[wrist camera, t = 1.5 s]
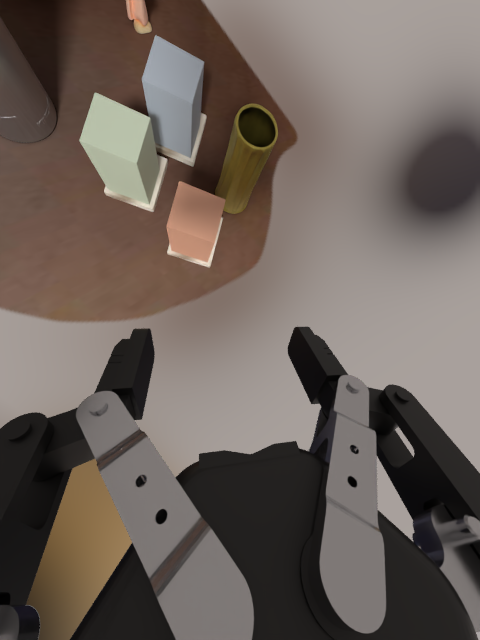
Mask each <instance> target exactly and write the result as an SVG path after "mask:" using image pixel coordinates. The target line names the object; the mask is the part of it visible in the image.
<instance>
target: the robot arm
mask: <svg viewBox="0 0 480 640" xmlns="http://www.w3.org/2000/svg"><path fill="white" fill-rule="evenodd" d="M56 120H57V116H56V110H55V107H54V105H53V103H52V101H51V99H50V98H49V96H48V94H47V93H46V91H45V89H44V88H43V86H42V85H41V83H40V81H39V80H38V78H37V76H36V75H35V73H34V71H33V70H32V68H31V66H30V65H29V63H28V61H27V60H26V58H25V56H24V55H23V53H22V52H21V50H20V48H19V47H18V45H17V43H16V42H15V40H14V38H13V37H12V35H11V33H10V32H9V30H8V29H7V27H6V25H5V24H4V22H3V20H2V19H1V17H0V135H1V136H2V137H4V138H7V139H9V140H12V141H16V142H22V143H31V142H37V141H40V140H42V139H44V138H46V137H47V136H49V135H50V133H51V132H52V131H53V129H54V127H55V125H56ZM288 355H289V357H290V359H291V361H292V364H293V365H294V368H295V370H296V372H297V374H298V376H299V378H300V381H301V383H302V385H303V387H304V389H305V391H306V393H307V396H308V398H309V400H310V402H311V404H319V403H320V405H321V409H320V411H319V416H318V420H317V424H316V429H315V433H314V437H313V441H312V444H311V447H310V449H309V451H306V450H302V449H299V448H298V445H297V442H296V441H293V442H286V443H278V444H273V445H271V446H269V447H267V448H264V449H262V450H260V451H258V452H256V453H254V454H244V453H238V452H231V451H217V452H209V453H202V454H199V461H198V462H196V463H194V464H192V465H190V466H189V467H187V468H186V469H184V470H183V471H182V472H181V473H180V474H179V475H178V476H177V477H176V478H175V477H174V475H173V474H172V472H171V471H170V469H169V468H168V466H167V465H166V463H165V462H164V460H163V459H162V457H161V456H160V454H159V453H158V451H157V450H156V448H155V447H154V445H153V444H152V442H151V441H150V439H149V438H148V436H147V435H146V434H145V432H142V431H141V430H140V428H139V427H138V426H137V424H136V422H135V421H134V420H141V419H142V416H143V411H144V407H145V402H146V397H147V392H148V387H149V383H150V378H151V373H152V368H153V363H154V346H153V341H152V335H151V330H150V329H134V330H133V332H132V334H131V337H130V339H122V340H121V341H120V342H119V343H118V344H117V345H116V346H115V347H114V349H113V351H112V354H111V357H110V359H109V361H108V364H107V366H106V368H105V370H104V373H103V375H102V377H101V379H100V382H99V384H98V386H97V389H96V391H95V393H94V394H92V395H91V396H89V397H87V398H86V399H85V400H84V401H83V402H82V403H81V404H80V405H79V407H78V408H76V409H73V410H71V411H68V412H65V413H62V414H59V415H56V416H53V417H50V418H46V417H45V415H43V414H41V413H28V414H24V415H22V416H19V417H17V418H15V419H13V420H11V421H10V422H8V423H7V424H5V425H4V426H3V427H2V428H1V429H0V640H38V637H39V632H40V618H39V614H38V612H37V611H36V609H35V608H33V607H32V606H29V605H26V603H27V599H28V597H29V594H30V591H31V588H32V585H33V582H34V579H35V576H36V573H37V570H38V567H39V564H40V561H41V558H42V555H43V553H44V550H45V546H46V544H47V541H48V538H49V535H50V532H51V529H52V526H53V523H54V520H55V517H56V515H57V512H58V509H59V506H60V503H61V500H62V497H63V494H64V491H65V488H66V485H67V482H68V479H69V477H70V473H71V470H72V468H74V467H76V466H78V465H81V464H83V463H85V462H88V461H89V460H92V459H96V461H97V466H98V469H99V471H100V474H101V476H102V478H103V480H104V482H105V484H106V487H107V488H108V491H109V493H110V495H111V497H112V500H113V502H114V504H115V506H116V508H117V510H118V512H119V515H120V517H121V519H122V521H123V523H124V525H125V527H126V530H127V532H128V534H129V536H130V538H131V540H132V544H131V545H130V547H129V549H128V550H127V552H126V553H125V555H124V556H123V558H122V559H121V561H120V562H119V564H118V566H117V567H116V569H115V570H114V572H113V573H112V575H111V576H110V578H109V580H108V581H107V583H106V584H105V586H104V587H103V589H102V590H101V592H100V593H99V595H98V597H97V598H96V600H95V601H94V603H93V605H92V606H91V608H90V609H89V611H88V612H87V614H86V615H85V617H84V618H83V620H82V622H81V623H80V625H79V626H78V628H77V629H76V631H75V632H74V634H73V635H72V637H71V639H70V640H478V638H477V634H476V632H479V631H480V473H479V472H478V471H477V470H476V468H475V467H474V466H473V465H472V464H471V463H470V461H469V460H468V459H467V458H466V457H465V456H464V454H463V453H462V452H461V451H460V450H459V449H458V447H457V446H456V445H455V444H454V443H453V442H452V441H451V439H450V438H449V437H448V436H447V435H446V434H445V432H444V431H443V430H442V429H441V427H440V426H439V425H438V424H437V423H436V422H435V421H434V419H433V418H432V417H431V416H430V415H429V414H428V412H427V411H426V410H425V409H424V408H423V406H422V405H421V404H420V403H419V402H418V401H417V399H416V398H415V397H414V396H413V395H412V394H411V393H410V392H409V391H407V390H406V389H404V388H402V387H400V386H397V385H388V386H386V388H385V389H384V390H383V391H382V390H378V389H373V388H368V387H367V386H366V385H365V384H364V383H363V382H362V381H361V380H360V379H358V378H356V377H354V376H351V375H348V374H347V373H346V371H345V370H344V368H343V367H342V365H341V364H340V363H339V361H338V360H337V358H336V357H335V355H333V353H332V351H331V350H330V349H329V347H328V345H327V344H326V343H325V341H324V340H323V339H321V338H320V337H319V336H317V335H314V333H313V332H312V330H311V329H310V328H309V327H295V328H294V330H293V333H292V336H291V339H290V342H289V345H288ZM398 426H399V428H400V429H401V431H402V432H403V434H404V435H405V436H406V438H407V439H408V441H409V442H410V444H411V445H412V447H413V449H414V453H415V455H414V457H413V456H412V455H411V453H410V452H409V450H408V449H407V447H406V446H405V444H404V443H403V441H402V440H401V438H400V437H399V435H398V434H397V433H396V431H395V429H396V428H397V427H398ZM376 455H377V456H378V458H379V460H380V462H381V463H382V465H383V467H384V469H385V471H386V472H387V474H388V476H389V478H390V480H391V481H392V483H393V485H394V487H395V489H396V490H397V492H398V494H399V496H400V498H401V499H402V501H403V503H404V505H405V506H406V508H407V510H408V512H409V514H410V515H411V517H412V519H413V528H414V533H413V536H412V538H413V541H411V540H410V539H409V538H408V537H407V536H406V535H405V534H404V533H403V532H402V531H400V530H399V529H398V528H397V527H396V526H395V525H394V524H393V523H392V522H390V521H389V520H388V519H387V518H386V517H385V516H384V515H383V514H382V513H381V512H379V511H378V510H377V456H376Z"/></svg>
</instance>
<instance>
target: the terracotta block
mask: <svg viewBox="0 0 480 640" xmlns="http://www.w3.org/2000/svg"><path fill="white" fill-rule="evenodd" d="M225 201H226V200H225V199H223V198H220V197H218V196H215V195H213V194H210V193H208V192H205V191H203V190H200V189H198V188H196V187H193V186H191V185H188V184H186V183H183V182H181V181H179V184H178V188H177V191H176V195H175V198H174V202H173V205H172V209H171V212H170V216H169V220H168V223H167V232H168V236H169V241H170V246H171V251H174V252H177V253H180V254H183V255H186V256H189V257H192V258H195V259H198V260H201V261H205V262H208V260H209V257H210V254H211V251H212V249H213V246H214V243H215V239H216V235H217V232H218V228H219V224H220V220H221V216H222V213H223V209H224V205H225Z"/></svg>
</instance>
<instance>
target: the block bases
mask: <svg viewBox="0 0 480 640" xmlns="http://www.w3.org/2000/svg"><path fill="white" fill-rule="evenodd" d="M206 118H207V115H205V114H203V113H201V116H200V127H199V130H198V134H197V137H196V141H195V145H194V148H193V152H192V155H191V158H189V157H187V156H185V155H182V154H180V153H178V152H175V151H173V150H171V149H169V148H166V147H164V146H162V145H159V144H157V143H155V147H156V151H157V152H159V153H162V154H164V155H166V156H169V157H171V158H174V159H176V160H178V161H181V162H183V163H185V164H188V165H190V166H192V167H194V163H195V160H196V156H197V152H198V149H199V145H200V142H201V138H202V134H203V131H204V127H205V124H206ZM157 158H158V164H159V174H158V177H157V181H156V184H155V188H154V191H153V195H152V198H151V201H150V205H149V204H146V203H143V202H140V201H138V200H135V199H132V198H129V197H127V196H124V195H121V194H118V193H116V192H113V191H110V190H108V188H107V187H105V190H104V192H105V194H106V195H107V196H109V197H112V198H115V199H118V200H121V201H123V202H126V203H129V204H132V205H135V206H137V207H140V208H143V209H146V210H149V211H151V212H154V210H155V207H156V203H157V200H158V196H159V193H160V189H161V186H162V182H163V179H164V176H165V172H166V169H167V165H168V159H166V158H164V157H161V156H159V155H157ZM222 220H223V218H222V217H221V220H220V224H219V228H218V232H217V235H216V239H215V243H214V246H213V249H212V251H211V254H210V257H209V260H208V262H205V261H201V260H198V259H195V258H192V257H189V256H186V255H183V254H180V253H177V252H174V251H171V246H170V244H169V248H168V251H167V253H168V255H172V256H175V257H178V258H181V259H184V260H187V261H190V262H194V263H197V264H200V265H203V266H206V267H209V268H210V265H211V262H212V258H213V254H214V250H215V246H216V243H217V239H218V235H219V231H220V227H221V224H222Z"/></svg>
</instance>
